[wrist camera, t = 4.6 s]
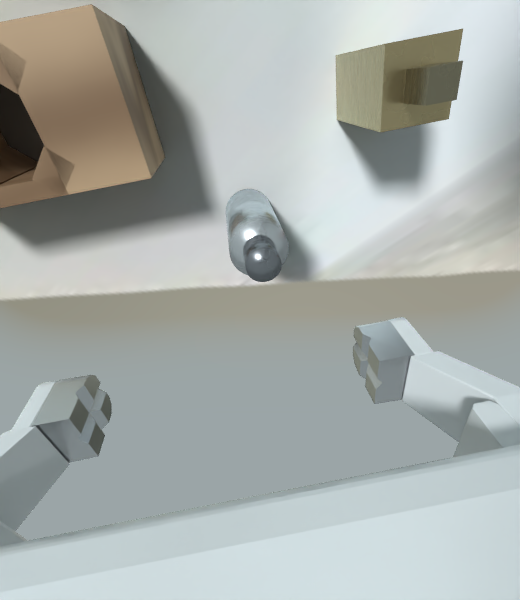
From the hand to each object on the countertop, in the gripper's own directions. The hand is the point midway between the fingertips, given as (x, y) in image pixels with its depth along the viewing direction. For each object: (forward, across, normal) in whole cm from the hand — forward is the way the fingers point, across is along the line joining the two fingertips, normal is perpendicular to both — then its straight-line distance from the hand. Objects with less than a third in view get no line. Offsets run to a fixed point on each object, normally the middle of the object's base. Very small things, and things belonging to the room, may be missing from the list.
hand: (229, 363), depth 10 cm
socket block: (+17, +10, -7) cm, 21 cm away
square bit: (+17, -11, -6) cm, 21 cm away
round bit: (+17, -2, +1) cm, 17 cm away
